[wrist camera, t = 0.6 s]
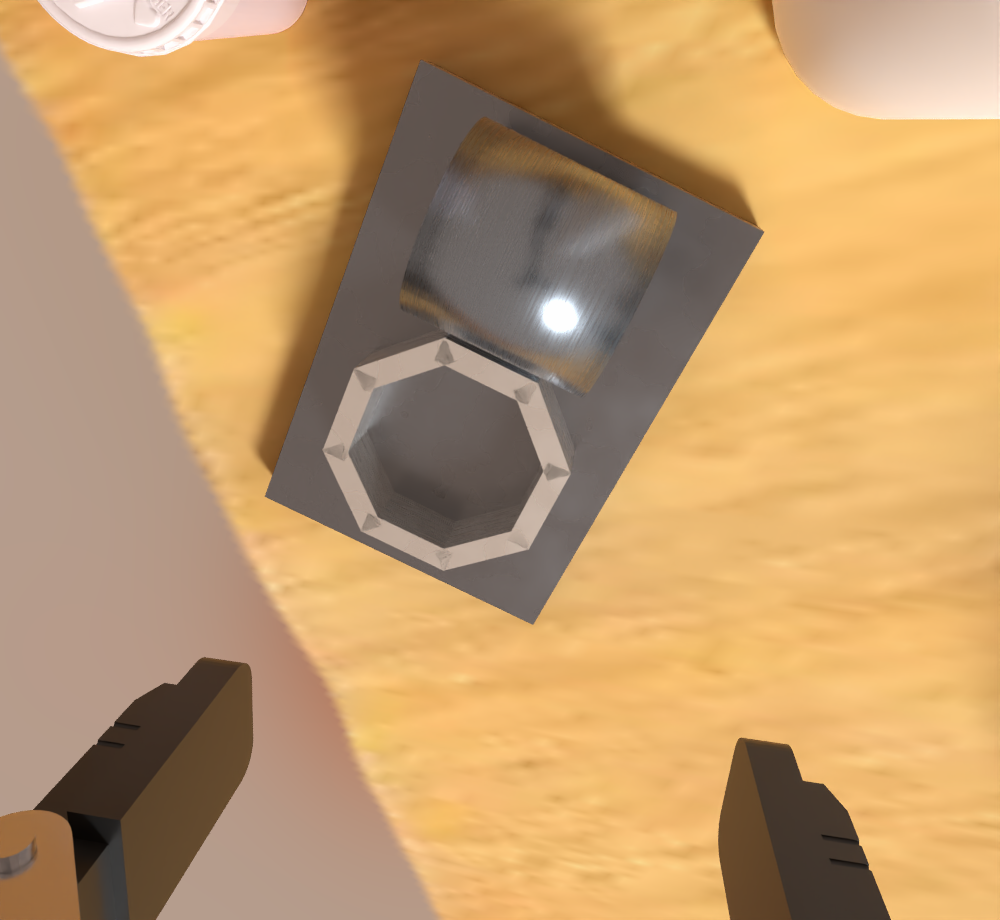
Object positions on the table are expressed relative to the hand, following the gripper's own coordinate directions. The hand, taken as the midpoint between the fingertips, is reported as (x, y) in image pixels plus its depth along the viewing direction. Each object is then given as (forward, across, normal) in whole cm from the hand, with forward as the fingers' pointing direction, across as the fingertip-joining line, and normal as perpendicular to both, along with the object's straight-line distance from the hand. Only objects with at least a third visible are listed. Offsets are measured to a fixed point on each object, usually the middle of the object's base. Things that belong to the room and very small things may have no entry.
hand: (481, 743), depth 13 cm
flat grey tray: (+23, +3, -1) cm, 23 cm away
